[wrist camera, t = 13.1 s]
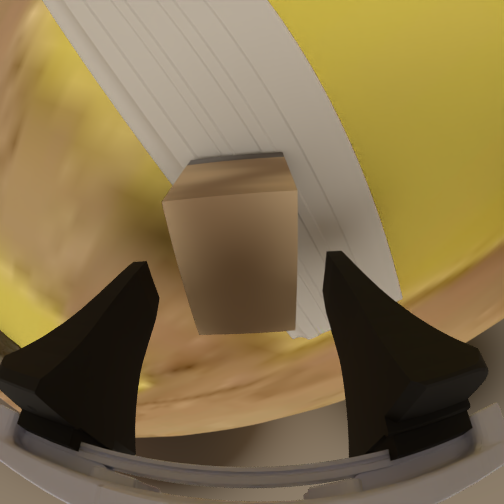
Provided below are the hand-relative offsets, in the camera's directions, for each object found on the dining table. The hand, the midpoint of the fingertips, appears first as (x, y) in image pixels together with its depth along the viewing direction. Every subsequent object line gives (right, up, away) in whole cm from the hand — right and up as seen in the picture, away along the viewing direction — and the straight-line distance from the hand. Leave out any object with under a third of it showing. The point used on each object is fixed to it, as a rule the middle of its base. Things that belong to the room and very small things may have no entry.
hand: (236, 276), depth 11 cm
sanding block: (0, +3, +2) cm, 3 cm away
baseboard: (-1, +7, +1) cm, 8 cm away
